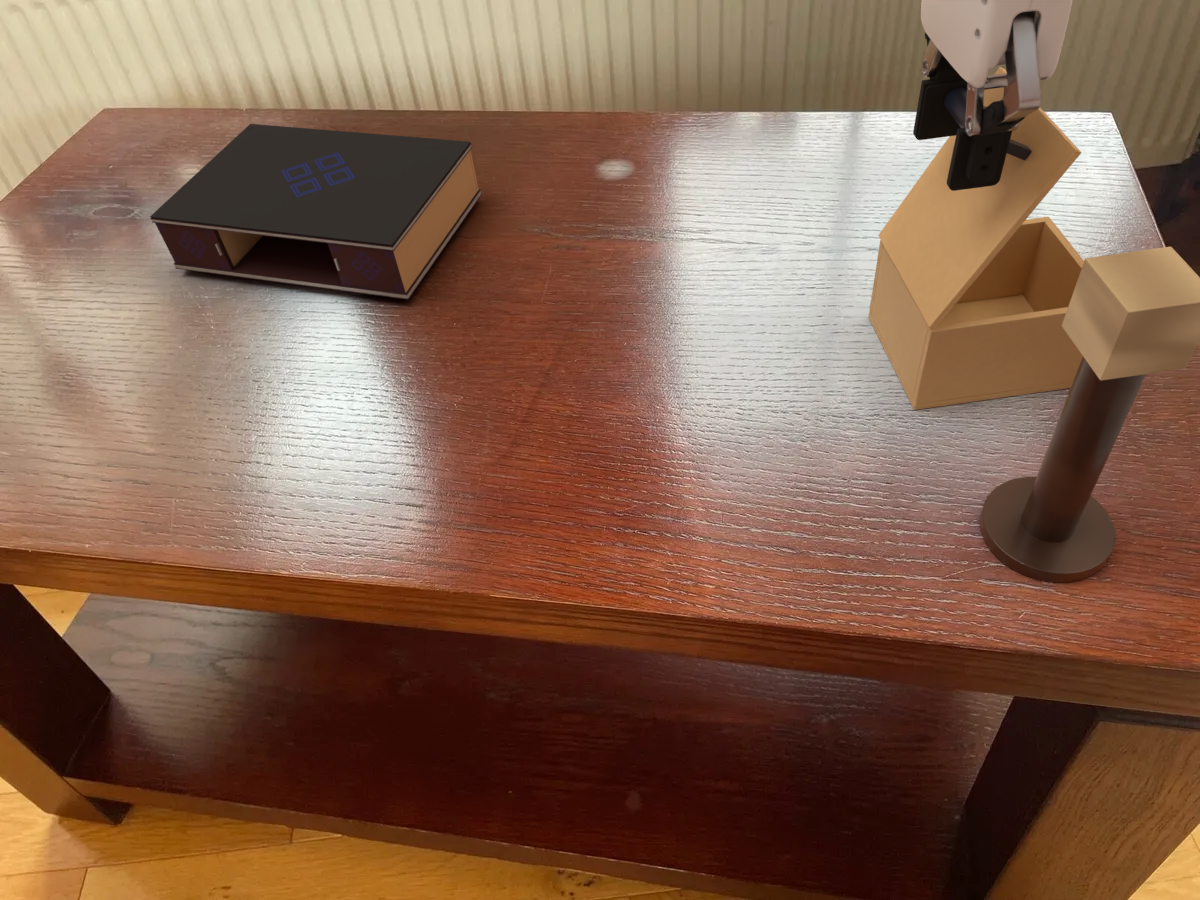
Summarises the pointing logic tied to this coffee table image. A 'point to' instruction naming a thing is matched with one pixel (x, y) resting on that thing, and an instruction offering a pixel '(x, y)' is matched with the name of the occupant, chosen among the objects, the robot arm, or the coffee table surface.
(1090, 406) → the stand
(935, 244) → the carton flap
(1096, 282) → the block
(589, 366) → the coffee table surface
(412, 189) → the black flat box
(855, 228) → the coffee table surface
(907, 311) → the carton
